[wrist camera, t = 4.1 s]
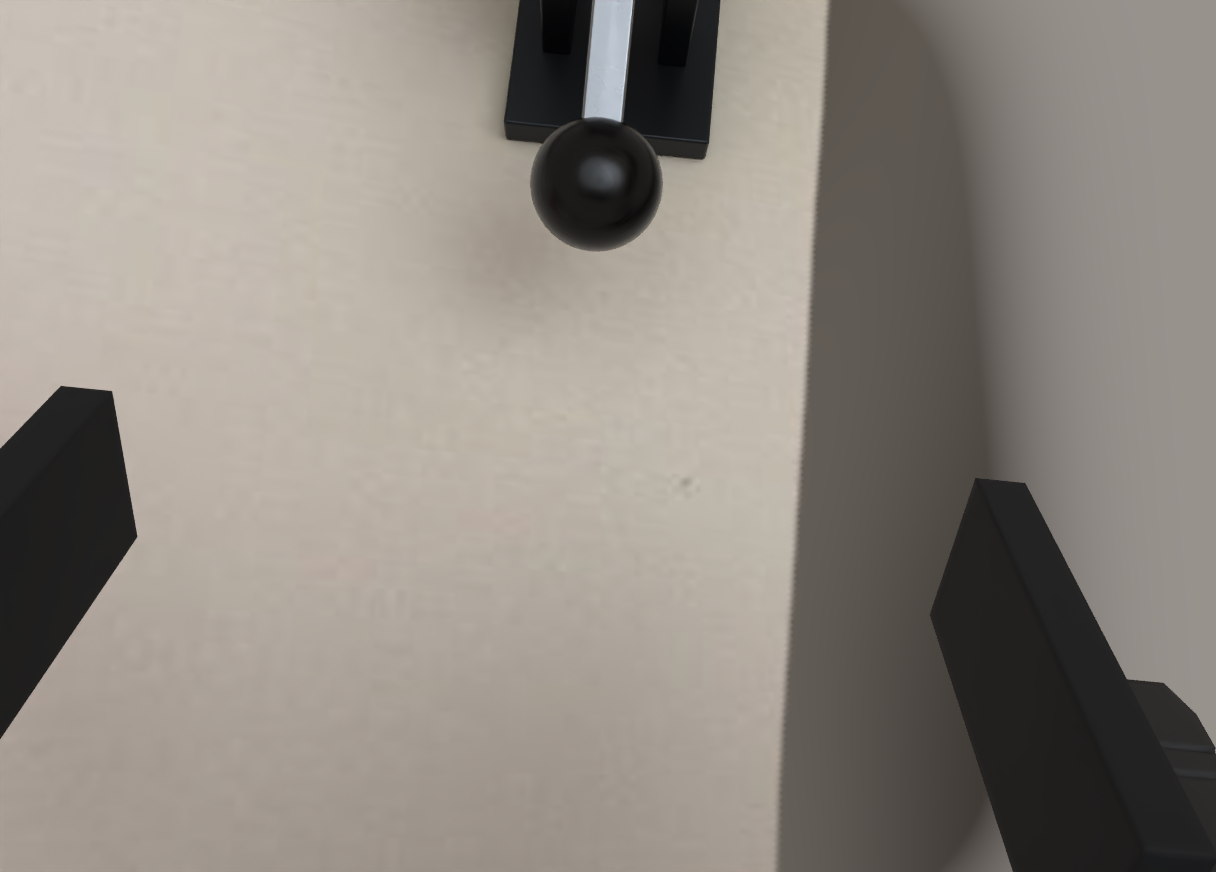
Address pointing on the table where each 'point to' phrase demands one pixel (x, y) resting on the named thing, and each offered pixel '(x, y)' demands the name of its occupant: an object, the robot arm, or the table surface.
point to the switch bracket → (657, 74)
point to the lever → (599, 150)
